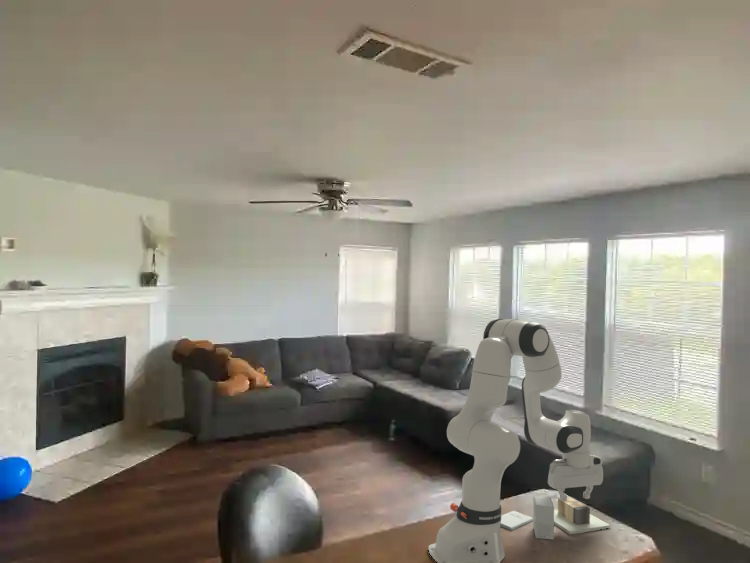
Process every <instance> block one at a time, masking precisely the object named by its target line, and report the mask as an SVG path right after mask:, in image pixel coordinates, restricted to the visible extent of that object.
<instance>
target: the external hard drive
mask: <svg viewBox="0 0 750 563" xmlns="http://www.w3.org/2000/svg"><path fill="white" fill-rule="evenodd" d="M532 522H533V516H529V515H526V514H524V513H521V512H518V511H516V510H511V511H509V512H507V513H504V514H501V522H500V528H501V527H502V528H504V529H506V530H509V531H514V530H516V529H519V528H521V527H522V526H525V525H527V524H530V523H532Z"/></svg>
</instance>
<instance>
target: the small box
mask: <svg viewBox="0 0 750 563" xmlns="http://www.w3.org/2000/svg"><path fill="white" fill-rule="evenodd" d="M554 510H555V506H554V503H553V500H552V498H551V497H550V496H537V495H534V496H533V516H532V518H533V521H532V522H533V524H532V525H533V531H534V536H535V539H543V540H552V541H553V540H555V524H554Z"/></svg>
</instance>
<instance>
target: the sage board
mask: <svg viewBox="0 0 750 563" xmlns="http://www.w3.org/2000/svg"><path fill="white" fill-rule="evenodd" d="M554 526H556V527H558V528H560V530H562V531H564V532H565V533H567V534H568V535H577V534H581V533H587V532H594V531H601V530H600V529H602V530H607V529H606V528H608V529H610V528H611V524H609V523H607V522H606V521H604V520H601V519H600V518H598V517H596V516H595V515H593V514H591V513H590V523H588V524H582V525H576V524H575V523H573V522H571V521H570V520H568V519H567V518H565V517H563V516H562V515H560V514H558V508H556V509H555V508H554Z"/></svg>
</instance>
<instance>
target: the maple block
mask: <svg viewBox="0 0 750 563" xmlns="http://www.w3.org/2000/svg"><path fill="white" fill-rule="evenodd" d="M557 509H558V514H560V515H562V516H563V517H565V518H567V519H568V520H570V521H571V522H573V523H575V524H576V525H582V524H588V523H590V514H591V508H590V507H588V506H587V505H585V504H583V503H581V502H579V501H578V500H577V499H574V498H573V497H570V496H569V497H568V496H567V501H561V500H560V497H559V498H557Z"/></svg>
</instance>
